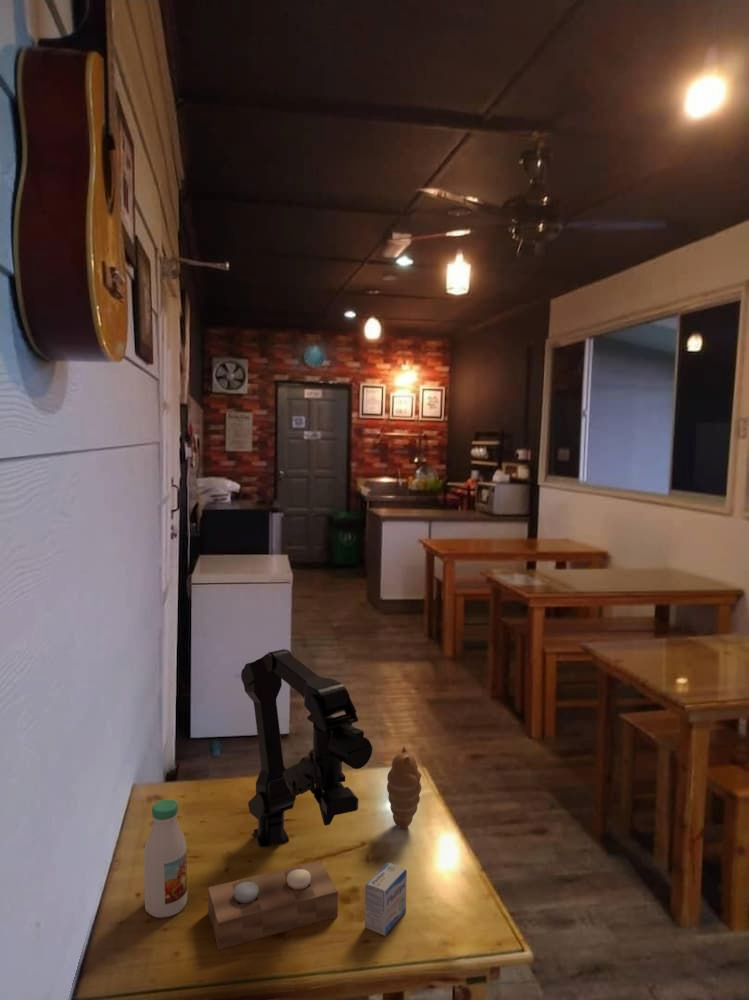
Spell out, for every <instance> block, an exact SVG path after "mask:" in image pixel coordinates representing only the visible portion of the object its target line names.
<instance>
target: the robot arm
mask: <svg viewBox="0 0 749 1000" xmlns="http://www.w3.org/2000/svg"><path fill="white" fill-rule="evenodd" d="M240 677H241V678H240V679H241V681H242V683H243V687H244V693H246V695H247V696H248V697H249V698H250V700H251V701H252V703H253V707H254V717H255V724H256V734H257V743H258V750H259V758H260V769H261V770H260V771H259V774H258V777H257V779H256V781H255V795H254V796H253V797H252V798H251V799H250V800H249V801H248V803H247V805H248V810H249V811H248V812H249V813H250V814H251V815H252V816H253V817H254V818H255V819H256V820H257V826H258V827H257V828H256V829H253V835H254V836H255V839H256V842H257V843H258V846H259V847H260V848H266V847H270V846H275V845H279V844H282V843H283V844H284V843H288V842H289V840H290V837H289V836H288V834H287V832H286V830H285V812H286V811H289V810H292V809H293V808H294V806H295V801H296V800H297V796H298V795H303V794H305V793H307V792H309V791H310V793H311V794H312V795H313V798H314V799H315V800H316V802H317V803H318V806H319V810H320V815H321V818H322V819H321V820H322V823H323V825H324V826H329V825H330V824H331V823H332V821H333V819H334V817H335V816H338V815H342V814H347V813H352V812H357V810H359V797H358V796H357V795H356V794H355V793H354V791H353V790H352V789H351V788H350V787H348V786H344V784H343V783H345V782H346V775H345V774H344V773H343V763H344V764H346V765H347V766H348V767H350V768H352V769H354V770H359V769H361V768H363V767H364V766H366V764H368V763H369V761H370V759H371V757H372V754H373V745H372V744H371V742H370V740H369V739H368V737H365V736H364V735H365V732H364V730H362V729H360V728H357V727H355V726H353V724H355V723H357V722H358V721H359V718H358V715H357V709H356V707H355V705H354V703H353V702H352V698H351V697H350V694H349V692H348V690H347V687H346V686H345V685H344V684H343V683H341V682H340V681H338V680H336V679H334V678H330V677H322V676H320V675H318V674H316V673H315V672H314V671H313V670H312V669H310V668H309V667H307V666H306V665H305V664H303V663H302V662H301V661H300V660H298V659H297V658H296V657H295V656H293V655H292V653H291V651H290V650H289V649H285V648H283V649H279V650H274V651H269V652H267V653H266V654H264V655H263V656H262V657H260V658H259V659H256V660H254V661H253V662H252V661H251V662H248V663H246V664H245V665H244V666H243V668H242V670H241V672H240ZM282 681H284V682H286V684H287V685H288V686H290V687H291V688H293V689H294V691H296V692H297V693H298V694H299V695H301V697H302V698H303V705H304V708H305V709H306V710H307V711H308V712H309V715H308V716H307V717H306V719H307V721H309V722H311V723H312V749H309V752H308V754H307V756H303V757H302V758H301V760H299V762H298V763H296V764H294V765H292V766H290V767H288V768H286V767H285V763H284V755H283V746H282V739H281V738H282V737H281V729H280V721H279V712H278V704H277V698H278V697H279V694H280V691H281V689H282ZM343 712H344V713H345V714H341V715H338V716H334V715H337V714H340V713H343Z"/></svg>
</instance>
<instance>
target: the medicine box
mask: <svg viewBox="0 0 749 1000" xmlns="http://www.w3.org/2000/svg"><path fill="white" fill-rule="evenodd" d="M407 871H408V870H407V869H405V868H404V867H401V866H399V865H397V864H394V863H391V862H386V863H385V865H383V867H382V868H380V870H378V871H377V872H376V873H375V875H373V876H372V878H370V880H369V881H368V882H367V883H365V886H364V887H365V888H364V927H365V929H368V930H371V932H374V933H376V934H380V935H382V936H384V937H386V935H388V933H389V932H390V931H391V930H392V929H393V927H394V926H395V925H396V923H397V922H398V921H400V919H401V918H402V916H403V915H404V914H405V913H406V912H407V878H408V877H407V875H408V873H407Z"/></svg>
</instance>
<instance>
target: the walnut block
mask: <svg viewBox="0 0 749 1000" xmlns="http://www.w3.org/2000/svg"><path fill="white" fill-rule="evenodd" d="M296 869H303V870H306V871H308V872H309V873H310V875H311V882H310V884H309V885H308V886H307V887H306V888H303V889H299V890H295V891H292V889H291V887H289V886H288V884H287V875H288V874H289V873H290V872H291V871H293V870H296ZM243 882H253V883H255V884H257V886H258V897H257V898H256V899H255V900H254V901H252V902H248V903H244V904H240V905H238V901H236V900H235V898H234V889H235V887H236V886H237V885H238V884H240V883H243ZM207 896H208V898H207V902H208V903H207V906H208V907H207V911H208V912H207V913H208V916H209V919H210V920H209V921H210V924H211V928H212V932H213V935H214V938H215V942H216V946H217V950H219V949H220V950H223V949H225V948H226V949H227V948H231V947H232V946H233V947H234V946H237V945H241V944H244V943H248V942H252V941H255V940H258V939H259V940H260V939H262V938H265V937H270V936H273V935H276V934H280V933H284V932H287V931H291V930H294V929H298V928H301V927H305V926H308V925H309V926H310V925H312V924H316V923H320V922H324V921H327V920H331V919H334V918H338V915H339V914H338V912H339V911H338V909H339V904H338V903H339V902H338V901H339V891H338V890H337V887H336V885H335V884H334V882H333V881H332V878H331V877H330V875H329V873H328V871H327V869H326V867H325V866H324V864H323V863H322V861H321V860H316V861H312V862H308V863H303V864H298V865H296V866H291V867H288V868H284V869H283V868H282V869H280V870H275V871H271V872H267V873H263V874H262V873H261V874H258V875H254V876H250V877H246V878H243V879H242V878H241V879H237V880H235V881H234V880H233V881H230V882H225V883H221V884H217V885H212V886H209V887H208V888H207ZM220 950H219V951H220Z"/></svg>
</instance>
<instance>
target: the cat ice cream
mask: <svg viewBox="0 0 749 1000" xmlns="http://www.w3.org/2000/svg"><path fill="white" fill-rule="evenodd" d="M416 761H417V760H416V759H415V757H414V756H413V755H411V754H409V753H408V751H407V748H406V746H403V747H402V750H401V753H398V754H396V755H395V756H394V758H393V759H392V762H391V768H390V770H389V771H388V773H387V777H386V778H387V784H386V789H387V791H386V792H388V802H389V804H390V811H391V813H392V820H393V822H394V825H396V826H397V827H398V828H400V829H407V828H408V827H409V826H410V825H411V824H412V823H413V819H414V818H413V817H414V816H415V815H416V813H417V811H418V805H419V803H420V794H421V792H422V785H421V784H422V783H421V779H422V778H421V777H422V774H421V772H420V771H419V767H418V764H417V762H416Z"/></svg>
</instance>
